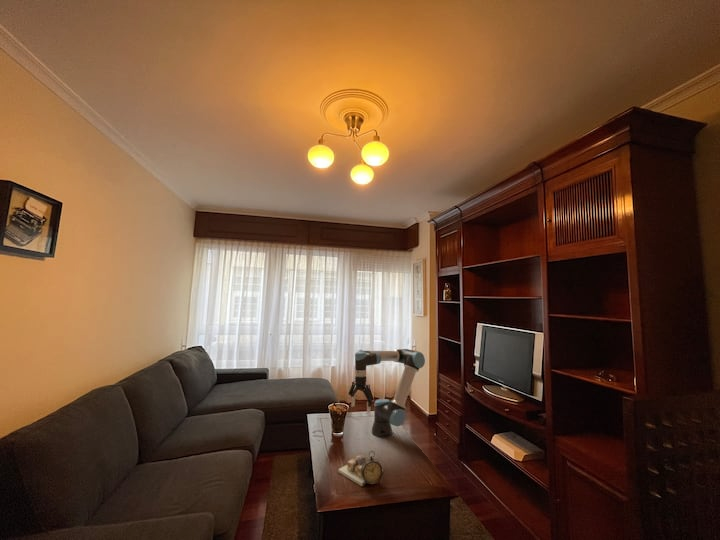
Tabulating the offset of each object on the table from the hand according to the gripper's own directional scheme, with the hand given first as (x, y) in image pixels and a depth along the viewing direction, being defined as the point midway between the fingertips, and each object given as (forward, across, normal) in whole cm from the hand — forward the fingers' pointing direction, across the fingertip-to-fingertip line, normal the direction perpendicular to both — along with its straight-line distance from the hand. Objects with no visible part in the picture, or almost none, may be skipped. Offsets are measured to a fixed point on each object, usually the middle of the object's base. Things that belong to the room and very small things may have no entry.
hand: (360, 408), depth 189 cm
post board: (+26, +16, -18) cm, 35 cm away
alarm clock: (+26, +27, -22) cm, 43 cm away
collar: (+24, +16, -18) cm, 34 cm away
